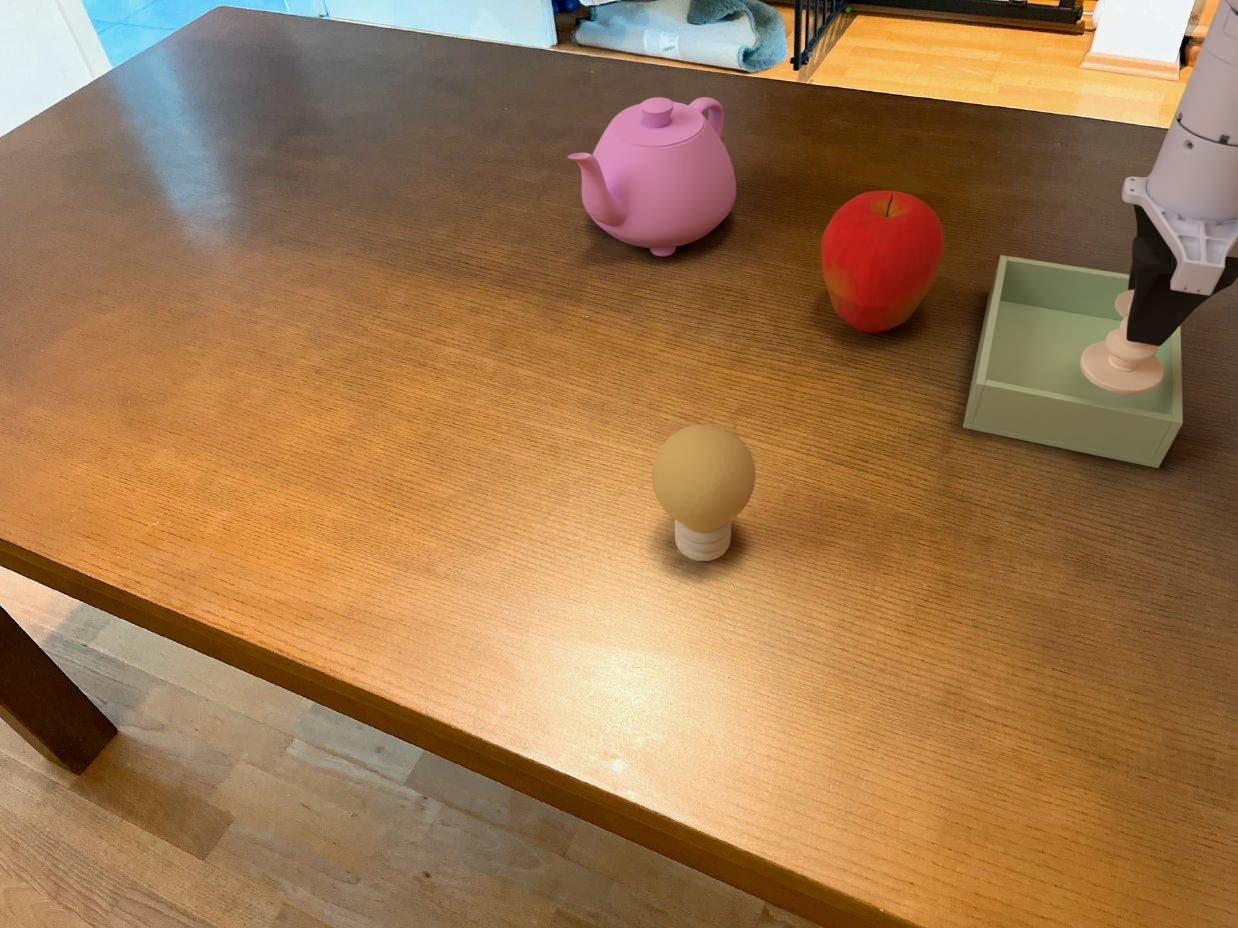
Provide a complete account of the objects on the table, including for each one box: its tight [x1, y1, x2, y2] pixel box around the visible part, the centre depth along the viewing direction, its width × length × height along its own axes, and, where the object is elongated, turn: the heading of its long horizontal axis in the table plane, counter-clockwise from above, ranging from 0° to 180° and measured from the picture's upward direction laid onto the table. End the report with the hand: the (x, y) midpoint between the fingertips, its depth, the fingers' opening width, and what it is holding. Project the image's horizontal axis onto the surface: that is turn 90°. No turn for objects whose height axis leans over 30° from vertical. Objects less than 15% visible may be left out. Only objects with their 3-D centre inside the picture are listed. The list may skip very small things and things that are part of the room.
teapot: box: [567, 96, 737, 257], centre depth 84 cm, size 20×14×12 cm
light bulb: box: [651, 423, 756, 562], centre depth 59 cm, size 6×6×10 cm
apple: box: [820, 190, 946, 334], centre depth 73 cm, size 9×9×12 cm
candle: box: [1079, 290, 1164, 395], centre depth 60 cm, size 5×5×10 cm
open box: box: [962, 254, 1184, 469], centre depth 70 cm, size 13×16×4 cm
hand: (1143, 319), depth 60 cm, fingers closed on candle, 4 cm apart
